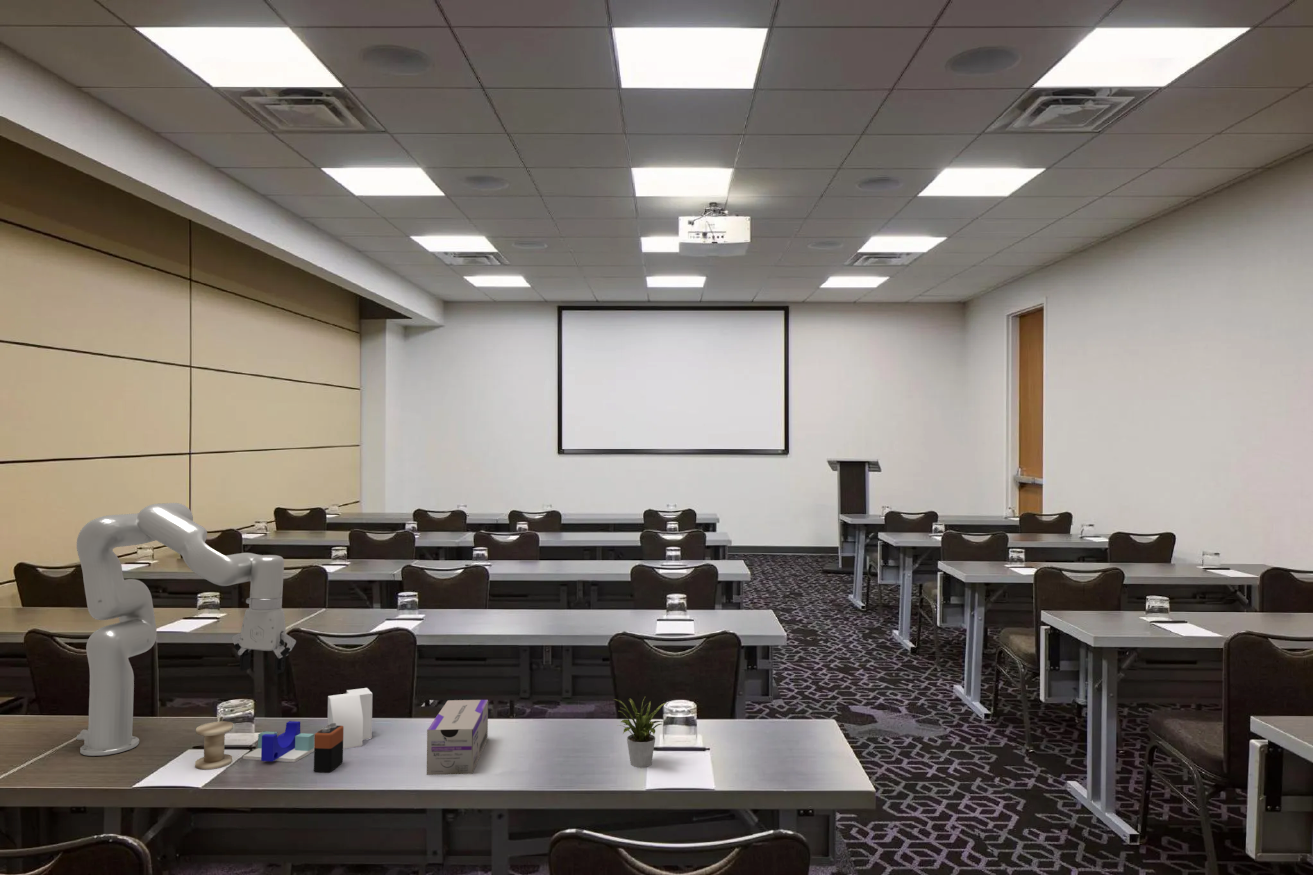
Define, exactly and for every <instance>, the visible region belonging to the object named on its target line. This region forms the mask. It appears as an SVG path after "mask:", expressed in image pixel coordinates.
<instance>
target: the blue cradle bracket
mask: <svg viewBox="0 0 1313 875" xmlns="http://www.w3.org/2000/svg"><path fill="white" fill-rule="evenodd" d="M300 733H301V721H292V720H289V721H287V722H286V723H285V731H284V732H282V733H281V734H279V735H278V734H277V735H276V734H265V735H263V736H262V750H261V760H260V761H261V762H275V761H274V760H276V759H278V758H279V757H281V756H283V755H284V754H286V753H288V752H289V751H291V750H293V749H294V748H295V736H297V735H298V734H300Z"/></svg>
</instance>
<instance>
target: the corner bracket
mask: <svg viewBox="0 0 1313 875" xmlns="http://www.w3.org/2000/svg"><path fill="white" fill-rule="evenodd" d="M331 723H336V726H343V750H344V749H345V750H346V749H350V748H357V747H362V746H363V741H365V739H366V740H370V739H369V738H372V732H373V730H372V729H373V692H372V691H371V690H370V689H369V688H368V687H364V688H355V689H346V693H343V694H341V693H340V694H333V695H328V696H327V725H326V726H328V725H329V724H331Z"/></svg>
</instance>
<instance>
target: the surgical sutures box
mask: <svg viewBox="0 0 1313 875" xmlns="http://www.w3.org/2000/svg"><path fill="white" fill-rule="evenodd" d="M488 717H489V699H463V700H462V699H459V700H458V699H454V700H450V699H449V700H447V701H446V702H445V704H444V705H443V706H442V708H441V710H440V711H439V712H438V714H437V715H436V717H435V718H434V719H433V721H432V722H431V723H430V725H429V727H427V730H426V775H427V776H430V775H431V776H434V775H435V776H436V775H437V776H438V775H439V776H440V775H441V776H442V775H473V773H474V771H475V769H476V767H477V764H478V762H479V759H480V757H481V756H482V753H483V750H484V749H485V746H486V744H487V742H488V739H489V738H488V734H489V733H488V732H489V728H488V727H489V723H488V722H489V721H488V720H489V718H488Z"/></svg>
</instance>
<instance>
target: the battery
mask: <svg viewBox="0 0 1313 875" xmlns="http://www.w3.org/2000/svg"><path fill="white" fill-rule="evenodd" d="M343 759H344V749H343V726H336V723H331V724H329V725H328V726H327V725H326V726H324V727H321V729H320V730H319V731H317V732H316V733H314V751H313V771H314V772H316V773H331V772H332V771H333V770H335V769H336V768H338V767H339V766H340V765H342V763H344V762H343V761H344V760H343Z"/></svg>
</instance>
